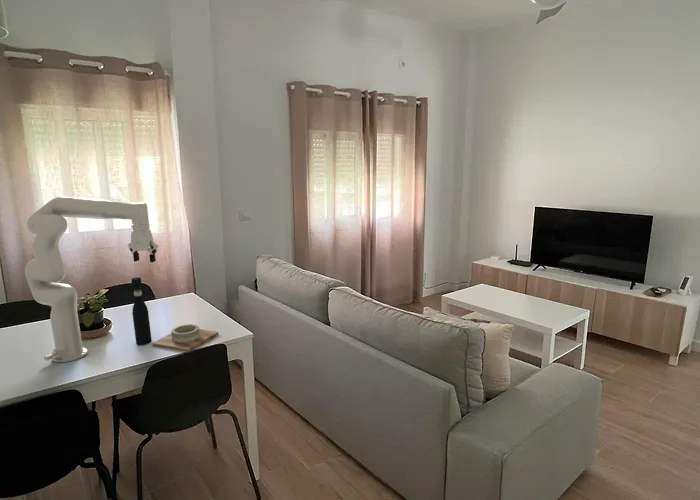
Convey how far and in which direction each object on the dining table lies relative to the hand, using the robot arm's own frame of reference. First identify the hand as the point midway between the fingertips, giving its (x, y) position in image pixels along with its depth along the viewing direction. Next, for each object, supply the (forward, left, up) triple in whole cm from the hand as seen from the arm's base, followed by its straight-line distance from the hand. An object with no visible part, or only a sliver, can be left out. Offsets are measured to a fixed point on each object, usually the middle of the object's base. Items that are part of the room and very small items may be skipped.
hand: (144, 261), depth 217 cm
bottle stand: (-14, -35, -31) cm, 49 cm away
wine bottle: (-22, -18, -32) cm, 43 cm away
